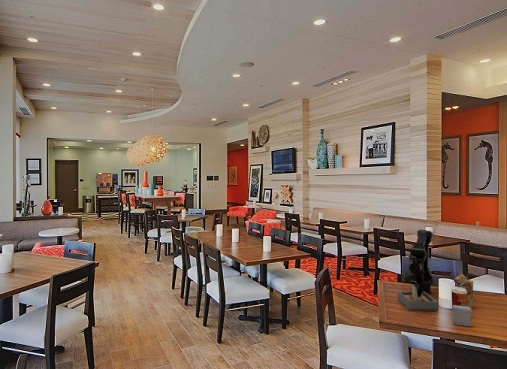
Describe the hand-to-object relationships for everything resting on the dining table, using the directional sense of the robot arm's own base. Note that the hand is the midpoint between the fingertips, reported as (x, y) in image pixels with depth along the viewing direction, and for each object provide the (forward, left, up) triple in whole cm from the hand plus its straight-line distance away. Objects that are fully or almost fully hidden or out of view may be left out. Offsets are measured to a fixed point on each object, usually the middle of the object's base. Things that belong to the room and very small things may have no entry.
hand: (417, 295), depth 200 cm
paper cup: (-17, +12, -6) cm, 22 cm away
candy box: (-26, 0, -6) cm, 27 cm away
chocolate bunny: (-32, -12, -6) cm, 35 cm away
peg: (0, 0, -3) cm, 3 cm away
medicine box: (-12, +24, -6) cm, 28 cm away
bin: (0, 0, -6) cm, 6 cm away
